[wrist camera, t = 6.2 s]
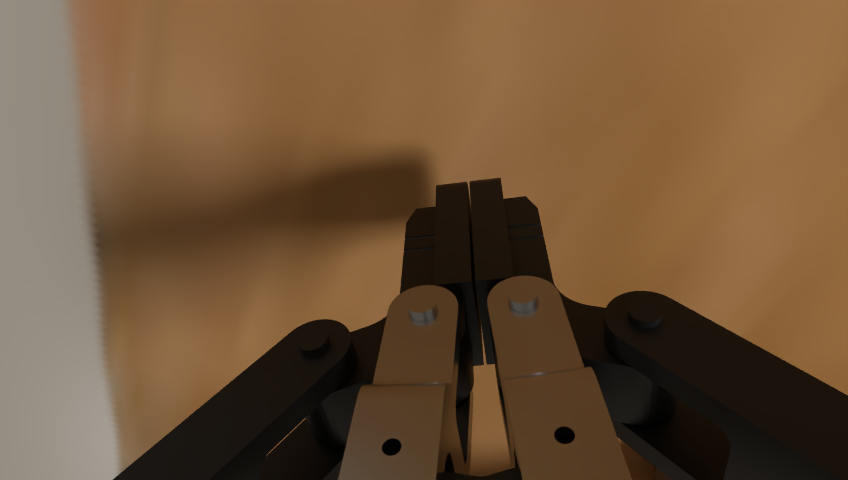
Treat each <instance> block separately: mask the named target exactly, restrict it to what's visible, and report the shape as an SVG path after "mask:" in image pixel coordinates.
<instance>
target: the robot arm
mask: <svg viewBox="0 0 848 480" xmlns="http://www.w3.org/2000/svg"><path fill="white" fill-rule="evenodd" d="M470 198H471V206H470ZM470 198H469V190H468V184H467V182H461V183H453V184H444V185H437V186H436V207H429V208H420V209H416V210H415V211H414V213H413V214H412V216H411V217H410V218H409V220H408V221H407V223H406V232H405V244H404V255H403V266H402V277H401V289H400V294H399V295H398V296H397V297H396V298H395V299H394V300H393V301H392V303H391V304H390V306H389V309H388V313H387V316H386V317H385V318H383V319H382V320H380V321H379V322H377V323H375V324H372V325H370V326H367V327H364V328H361V329H359V330H356V331H353V332H349V330H348V329H347V327H346V326H345V325H343V324H342V323H340V322H338V321H334V320H328V319H322V320H315V321H311V322H308V323H305V324H303V325H301V326H299V327H297V328H296V329H294V330H293V331H292V332H290V333H289V334H288V335H287V336H286V337H284V338H283V339H282V340H281V341H280V342H278V343H277V344H276V345H275V346H274V347H272V348H271V349H270V350H269V351H268V352H266V353H265V354H264V355H263V356H261V357H260V358H259V359H258V360H257V361H255V362H254V363H253V364H252V365H251V366H249V367H248V368H247V369H246V370H245V371H243V372H242V373H241V374H240V375H239V376H237V377H236V378H235V379H234V380H233V381H231V382H230V383H229V384H228V385H226V386H225V387H224V388H223V389H222V390H220V391H219V392H218V393H217V394H216V395H214V396H213V397H212V398H211V399H210V400H208V401H207V402H206V403H205V404H204V405H202V406H201V407H200V408H199V409H197V410H196V411H195V412H194V413H193V414H191V415H190V416H189V417H188V418H187V419H185V420H184V421H183V422H182V423H181V424H179V425H178V426H177V427H176V428H175V429H173V430H172V431H171V432H170V433H169V434H167V435H166V436H165V437H164V438H162V439H161V440H160V441H159V442H158V443H156V444H155V445H154V446H153V447H152V448H150V449H149V450H148V451H147V452H146V453H144V454H143V455H142V456H141V457H140V458H138V459H137V460H136V461H135V462H134V463H132V464H131V465H130V466H129V467H127V468H126V469H125V470H124V471H123V472H121V473H120V474H119V475H118V476H117V477H115V478H114V479H113V480H632V478H631V475H630V472H629V469H628V466H627V463H626V460H625V458H624V455H623V452H622V449H621V446H620V443H619V441H618V438H619V439H621V440H622V441H623V442H624V443H626V444H627V445H628V446H629V447H631V448H632V449H633V450H635V451H636V452H637V453H638V454H640V455H641V456H642V457H643V458H645V459H646V460H647V461H649V462H650V463H651V464H652V465H654V466H655V467H656V468H657V469H659V470H660V471H661V472H663V473H664V474H665V475H666V476H668V477H669V478H670V479H671V480H848V395H846V394H844V393H842V392H840V391H838V390H837V389H835V388H833V387H831V386H829V385H828V384H826V383H824V382H822V381H820V380H818V379H817V378H815V377H813V376H811V375H809V374H808V373H806V372H804V371H802V370H800V369H798V368H797V367H795V366H793V365H791V364H789V363H787V362H786V361H784V360H782V359H780V358H778V357H777V356H775V355H773V354H771V353H769V352H767V351H766V350H764V349H762V348H760V347H758V346H756V345H755V344H753V343H751V342H749V341H747V340H746V339H744V338H742V337H740V336H738V335H736V334H735V333H733V332H731V331H729V330H727V329H725V328H724V327H722V326H720V325H718V324H716V323H715V322H713V321H711V320H709V319H707V318H705V317H704V316H702V315H700V314H698V313H696V312H695V311H693V310H691V309H689V308H687V307H685V306H684V305H682V304H680V303H678V302H676V301H674V300H673V299H671V298H669V297H667V296H665V295H662V294H659V293H655V292H649V291H633V292H628V293H624V294H622V295H619V296H617V297H616V298H614V299H613V300H612V301H611V302H610V303H609V304H608V305H607V307H606V308H603V307H596V306H589V305H584V304H581V303H577V302H575V301H573V300H570V299H569V298H567V297H565V296H564V295H563V294H562V293H560V292H559V290H558V289H557V288H556V286H555V285H554V282H553V278H552V274H551V269H550V264H549V259H548V255H547V250H546V245H545V241H544V237H543V231H542V226H541V222H540V217H539V212H538V208H537V207H536V206H535V205H534V204H533V203H532V202H531V201H530V200H529V199H528V198H527V197H526V196H525V197H516V198H507V199H503V192H502V185H501V178H494V179H486V180H477V181H470ZM481 325H482V330H481ZM482 333H483V340H484V347H485V354H486V362H487V364H495V369H496V377H497V385H498V393H499V399H500V405H501V411H502V416H503V422H504V427H505V433H506V438H507V444H508V449H509V455H510V461H511V466H512V469H509V470H505V471H502V472H499V473H496V474H493V475H489V476H485V477H477V476H471V475H470V460H471V439H472V418H473V391H472V388H473V385H474V374H473V366H477V365H484V362H483V346H482ZM304 418H306V419H305V420H304V421H303V422H302V423H301V424H300V425H299V426H298V427H297V428H295V427H296V426H297V425H298V424H299V423H300V422H301V421H302V420H303V419H304ZM294 428H295V429H294ZM293 429H294V430H293ZM292 430H293V431H292ZM291 431H292V432H291ZM290 432H291V433H290ZM289 433H290V434H289ZM288 434H289V435H288ZM287 435H288V436H287ZM285 436H287V437H286V438H285V439H284V440H283V441H282V442H281V443H280V444H279V445H278V446H276V445H277V444H278V443H279V442H280V441H281V440H282V439H283V438H284V437H285ZM617 437H618V438H617ZM275 446H276V447H275ZM274 447H275V448H274ZM273 448H274V449H273ZM272 449H273V450H272ZM271 450H272V451H271ZM270 451H271V452H270ZM269 452H270V453H269ZM268 453H269V454H268ZM267 454H268V455H267ZM266 455H267V456H266Z"/></svg>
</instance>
